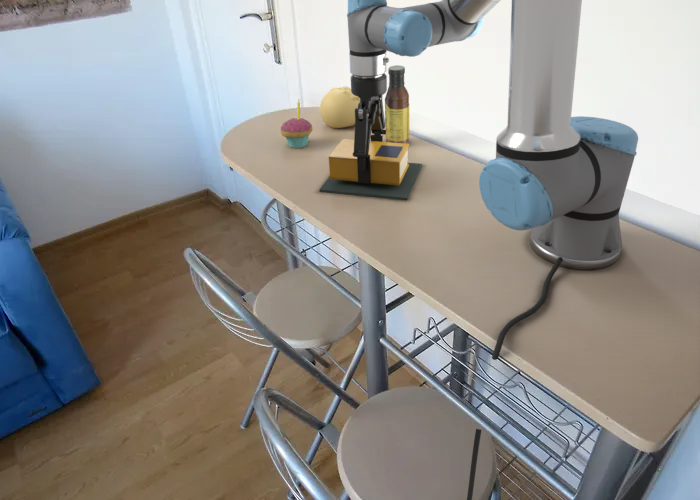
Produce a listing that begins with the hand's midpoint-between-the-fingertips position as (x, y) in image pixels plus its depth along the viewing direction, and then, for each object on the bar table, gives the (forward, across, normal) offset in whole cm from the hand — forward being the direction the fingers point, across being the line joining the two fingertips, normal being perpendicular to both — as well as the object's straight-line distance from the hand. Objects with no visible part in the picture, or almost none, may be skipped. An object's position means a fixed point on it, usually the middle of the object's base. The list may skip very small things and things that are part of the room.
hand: (370, 171), depth 120 cm
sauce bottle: (+2, +23, -1) cm, 23 cm away
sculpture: (+2, +34, +18) cm, 38 cm away
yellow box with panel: (0, 0, 0) cm, 0 cm away
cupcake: (+2, +17, +25) cm, 30 cm away
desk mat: (+2, +1, 0) cm, 2 cm away
